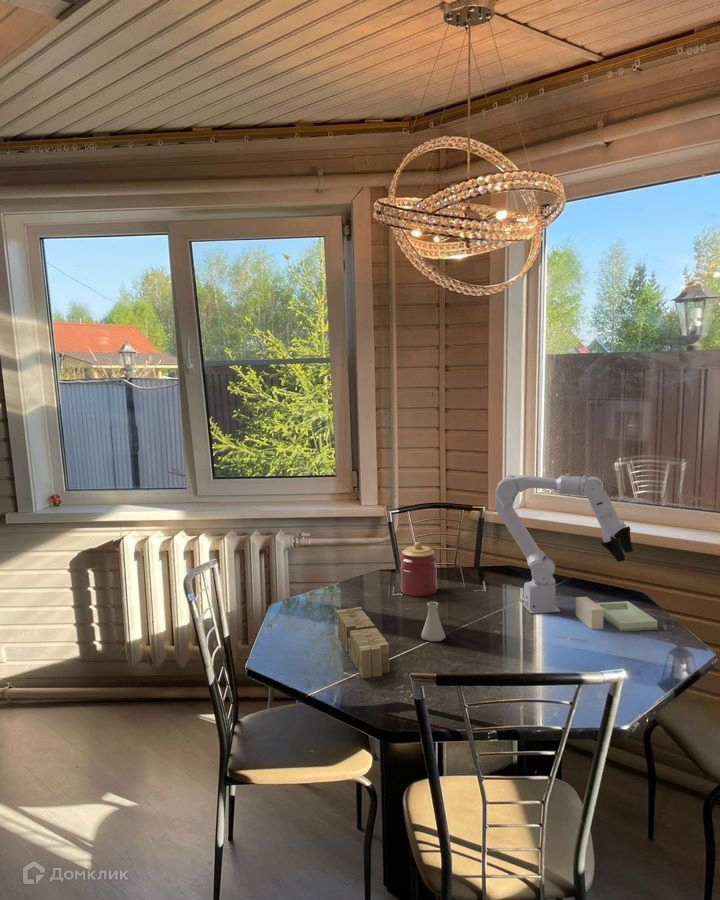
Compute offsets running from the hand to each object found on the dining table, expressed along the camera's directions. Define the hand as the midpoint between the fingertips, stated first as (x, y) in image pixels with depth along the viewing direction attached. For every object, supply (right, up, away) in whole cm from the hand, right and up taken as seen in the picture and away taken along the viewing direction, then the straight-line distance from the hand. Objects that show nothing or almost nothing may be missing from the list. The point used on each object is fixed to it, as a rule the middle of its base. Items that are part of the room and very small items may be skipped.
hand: (625, 556), depth 189 cm
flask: (-59, -22, -9) cm, 63 cm away
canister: (-59, -18, +32) cm, 70 cm away
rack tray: (0, -19, 0) cm, 19 cm away
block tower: (-79, -24, -18) cm, 85 cm away
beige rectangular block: (-11, -20, -1) cm, 23 cm away
